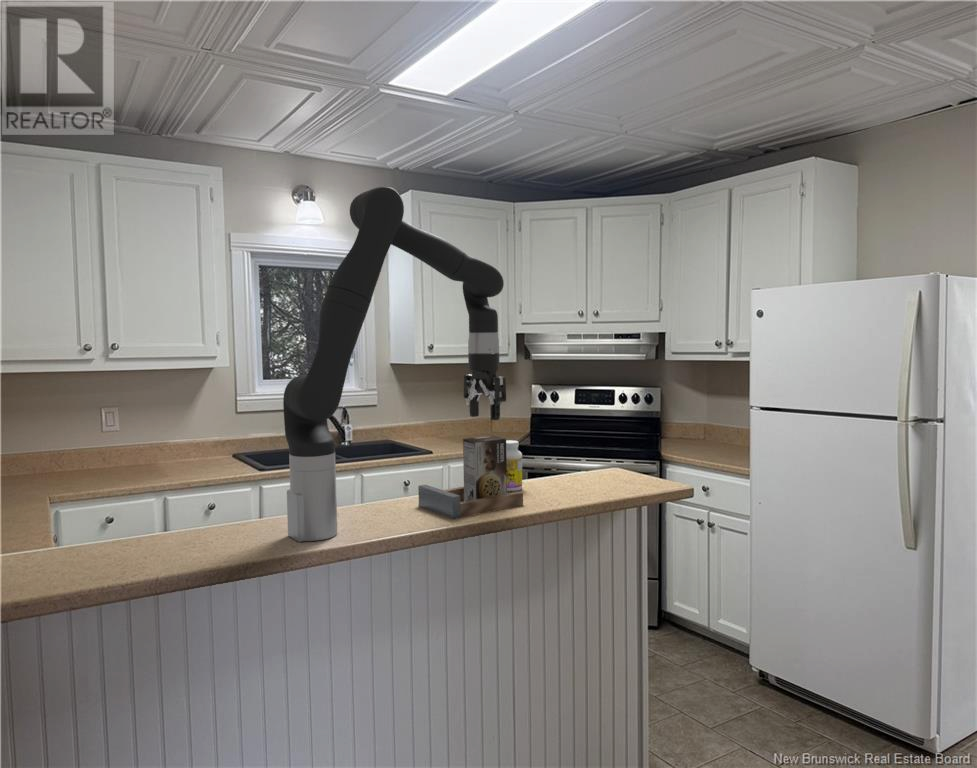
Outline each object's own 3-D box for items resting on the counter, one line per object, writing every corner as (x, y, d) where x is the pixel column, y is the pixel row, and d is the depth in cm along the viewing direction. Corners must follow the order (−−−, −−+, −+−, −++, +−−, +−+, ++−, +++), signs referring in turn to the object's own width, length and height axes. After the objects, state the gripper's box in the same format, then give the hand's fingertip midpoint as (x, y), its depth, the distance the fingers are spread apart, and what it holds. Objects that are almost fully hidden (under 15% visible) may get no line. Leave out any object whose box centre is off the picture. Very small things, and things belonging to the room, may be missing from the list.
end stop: (453, 519, 154) (452, 497, 153) (418, 506, 166) (418, 485, 165) (460, 517, 155) (460, 495, 154) (425, 504, 167) (425, 484, 166)
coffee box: (494, 498, 173) (493, 434, 172) (508, 503, 168) (507, 438, 167) (462, 502, 169) (462, 437, 168) (475, 508, 163) (475, 441, 162)
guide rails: (460, 517, 155) (459, 504, 155) (426, 504, 167) (426, 492, 166) (523, 504, 166) (523, 492, 166) (487, 493, 178) (487, 482, 177)
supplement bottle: (493, 490, 182) (492, 442, 181) (504, 485, 188) (503, 439, 187) (515, 493, 179) (515, 444, 178) (526, 488, 184) (526, 440, 183)
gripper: (454, 351, 169) (455, 416, 170) (488, 352, 158) (489, 422, 159) (479, 350, 173) (479, 414, 175) (514, 351, 162) (514, 419, 163)
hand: (484, 418), depth 167 cm, fingers open, 8 cm apart
